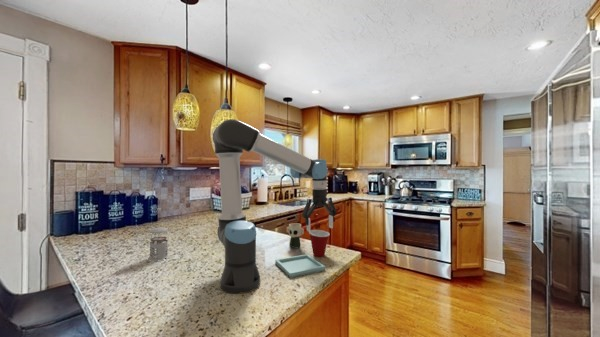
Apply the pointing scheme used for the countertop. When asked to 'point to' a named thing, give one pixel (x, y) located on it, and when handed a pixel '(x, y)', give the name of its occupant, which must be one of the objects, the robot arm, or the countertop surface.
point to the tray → (299, 265)
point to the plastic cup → (319, 242)
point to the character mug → (295, 234)
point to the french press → (158, 244)
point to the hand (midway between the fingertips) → (320, 229)
